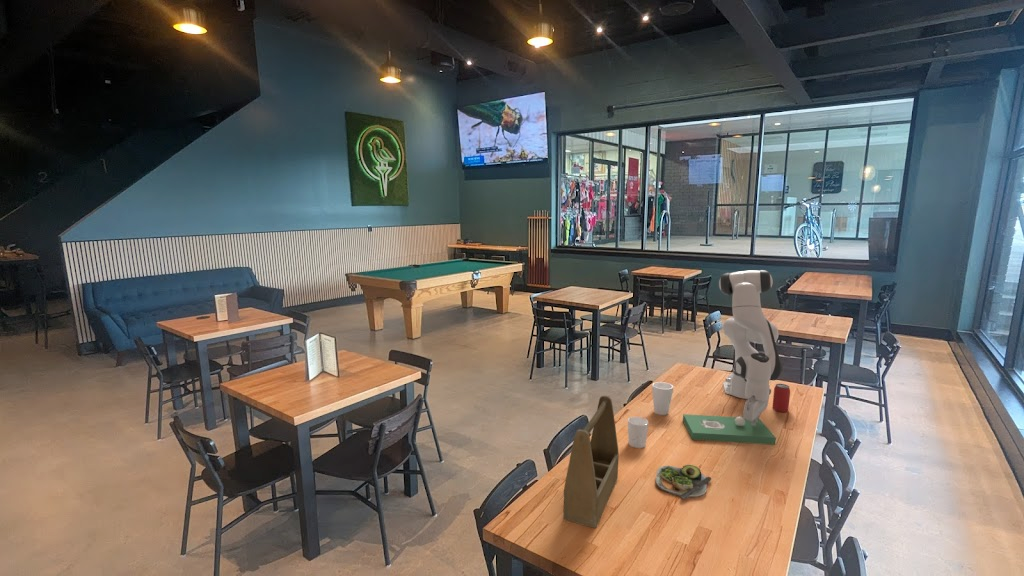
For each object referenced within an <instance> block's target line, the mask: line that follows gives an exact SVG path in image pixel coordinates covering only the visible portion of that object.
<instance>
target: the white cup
mask: <svg viewBox="0 0 1024 576" xmlns="http://www.w3.org/2000/svg"><path fill="white" fill-rule="evenodd" d="M648 431H649V420H648V419H646V418H645V417H641V416H631V417H629V418H628V419H627V437H628V445H629V446H630V447H632V448H636V449H643V448H645V447H646V446H647V445H646V444H647V437H648Z"/></svg>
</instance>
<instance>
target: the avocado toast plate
mask: <svg viewBox="0 0 1024 576" xmlns="http://www.w3.org/2000/svg"><path fill="white" fill-rule="evenodd" d="M663 480H664V481H666V482H668V483H671V484H672V486H673V488H674V489H672V488H668V487H666V486H665V485H664V483H663ZM710 481H712V478H711V476H705V475H704V474H702V472H701V469H700V468H699V467H698V466H696V465H694V464H685V465H683V466H682V467H677V466H673V465H663V466H660V467H658V469H657V471H656V476H655V484H656V486H657V487H658V488H659V489H661V490H662V491H663V492H665V493H667V494H669V495H673V496H678V497H679V498H680V499H682V500H685V499H688V498H697V497H698V498H699V497H702V496H704V495H705V494H706V492H707V484H708V483H710Z"/></svg>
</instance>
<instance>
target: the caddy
mask: <svg viewBox="0 0 1024 576" xmlns="http://www.w3.org/2000/svg"><path fill="white" fill-rule="evenodd" d="M591 432H592V433H591ZM590 433H591V438H590ZM619 457H620V456H619V446H618V438H617V428H616V421H615V414H614V406H613V399H612V398H611V397H610V396H609V395H601V396H600V398H599V401H598V404H597V409H596V411H595V413H594V415H593V416H592V418H590V420H589V421H588V423H587V424H586V426H585V427H584V429H577V430H576V432H575V434H574V437H573V442H572V446H571V450H570V458H569V463H568V466H567V467H568V468H567V472H566V476H565V477H566V478H565V483H564V489H563V517H562V518H563V520H565V521H567V522H572V523H576V524H579V525H582V526H586V527H590V528H593V529H597V527H598V525H599V522H600V520H601V517H602V515H603V512H604V510H605V508H606V505H607V503H608V501H609V499H610V496H611V494H612V493H613V490H614V487H615V485H616V482H617V481H618V476H619Z"/></svg>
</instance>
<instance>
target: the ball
mask: <svg viewBox="0 0 1024 576" xmlns="http://www.w3.org/2000/svg"><path fill="white" fill-rule="evenodd" d="M736 417H737V418H735V424H736V425H737V426H744V425H745V420H744V419H743V418H742V417H743V416H736Z"/></svg>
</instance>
